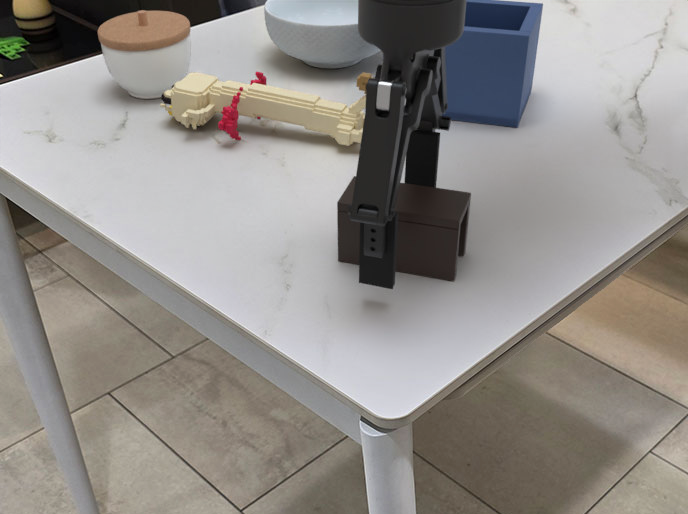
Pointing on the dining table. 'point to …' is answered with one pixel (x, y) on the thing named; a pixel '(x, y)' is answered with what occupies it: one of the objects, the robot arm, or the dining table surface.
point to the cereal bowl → (318, 31)
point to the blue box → (493, 62)
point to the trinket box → (146, 51)
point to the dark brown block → (416, 230)
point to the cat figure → (263, 106)
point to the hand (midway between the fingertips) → (399, 238)
